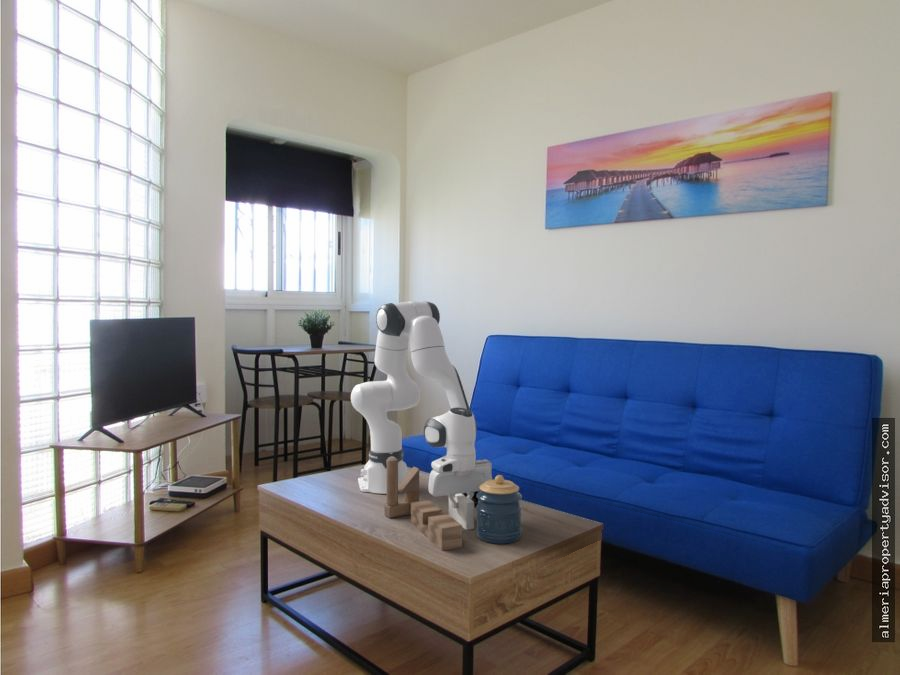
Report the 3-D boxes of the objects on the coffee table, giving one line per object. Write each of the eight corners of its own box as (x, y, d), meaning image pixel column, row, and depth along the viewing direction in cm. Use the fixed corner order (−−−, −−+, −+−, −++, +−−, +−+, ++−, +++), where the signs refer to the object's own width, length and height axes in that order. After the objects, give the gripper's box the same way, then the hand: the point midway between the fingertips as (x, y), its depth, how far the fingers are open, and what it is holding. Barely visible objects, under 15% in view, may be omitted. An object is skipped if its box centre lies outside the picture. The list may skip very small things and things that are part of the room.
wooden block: (419, 512, 197) (419, 456, 196) (389, 518, 191) (389, 461, 190) (413, 509, 200) (413, 454, 199) (384, 515, 194) (384, 458, 193)
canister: (468, 531, 181) (468, 472, 180) (507, 525, 186) (508, 467, 185) (489, 547, 169) (489, 483, 168) (530, 540, 174) (530, 478, 173)
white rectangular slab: (448, 516, 194) (448, 490, 194) (455, 514, 195) (455, 489, 195) (466, 529, 182) (466, 502, 182) (473, 528, 183) (474, 501, 183)
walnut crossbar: (410, 521, 189) (410, 502, 188) (429, 519, 191) (429, 500, 191) (441, 550, 167) (441, 528, 166) (462, 547, 169) (462, 525, 169)
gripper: (486, 456, 195) (486, 499, 196) (426, 462, 187) (426, 508, 187) (496, 461, 189) (496, 505, 190) (434, 467, 181) (434, 514, 182)
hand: (460, 506), depth 188 cm, fingers closed on white rectangular slab, 2 cm apart
